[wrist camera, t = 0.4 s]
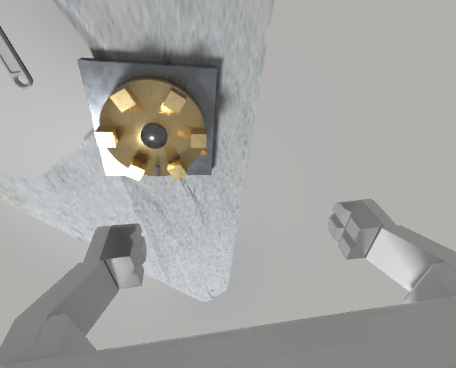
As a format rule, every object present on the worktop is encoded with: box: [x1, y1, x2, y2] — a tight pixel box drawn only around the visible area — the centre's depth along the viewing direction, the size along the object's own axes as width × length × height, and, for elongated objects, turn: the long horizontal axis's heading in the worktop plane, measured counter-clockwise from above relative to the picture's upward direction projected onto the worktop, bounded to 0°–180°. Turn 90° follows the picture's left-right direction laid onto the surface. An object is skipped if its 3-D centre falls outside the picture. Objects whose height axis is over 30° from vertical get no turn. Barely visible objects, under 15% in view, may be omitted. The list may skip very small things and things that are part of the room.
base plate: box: [78, 58, 217, 175], centre depth 52 cm, size 24×24×2 cm
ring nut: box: [95, 77, 207, 181], centre depth 49 cm, size 20×20×6 cm
